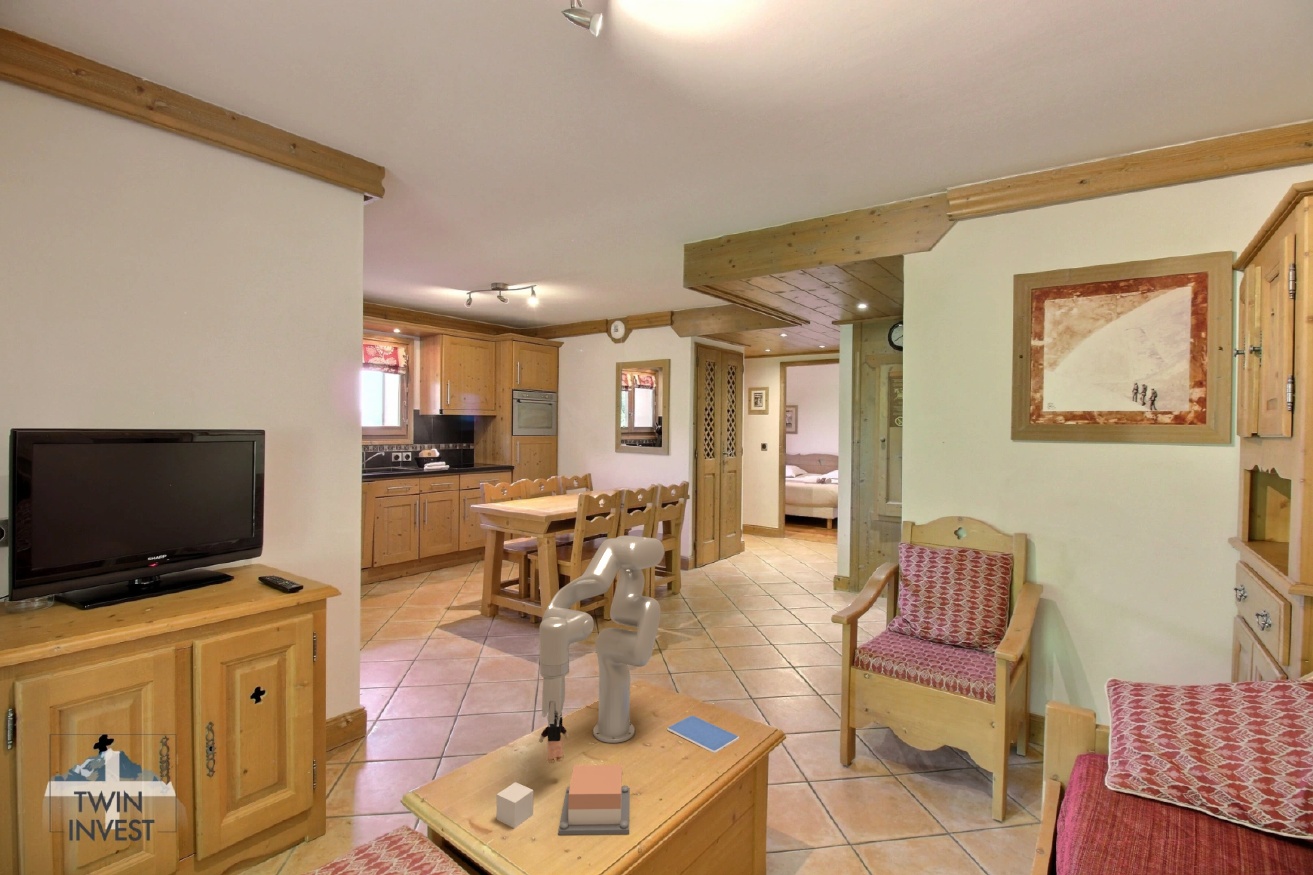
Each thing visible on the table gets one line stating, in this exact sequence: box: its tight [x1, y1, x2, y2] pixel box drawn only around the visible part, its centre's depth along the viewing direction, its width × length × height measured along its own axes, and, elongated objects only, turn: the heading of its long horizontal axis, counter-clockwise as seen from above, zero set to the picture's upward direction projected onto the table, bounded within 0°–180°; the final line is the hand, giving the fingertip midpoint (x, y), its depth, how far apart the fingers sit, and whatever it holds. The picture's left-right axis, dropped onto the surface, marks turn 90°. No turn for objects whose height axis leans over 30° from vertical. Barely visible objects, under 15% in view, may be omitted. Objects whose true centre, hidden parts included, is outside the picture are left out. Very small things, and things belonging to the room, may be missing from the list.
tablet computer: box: [666, 715, 740, 754], centre depth 181 cm, size 19×13×1 cm, turn 46°
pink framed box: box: [557, 764, 631, 836], centre depth 142 cm, size 16×16×8 cm
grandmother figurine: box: [538, 712, 570, 765], centre depth 155 cm, size 8×4×13 cm, turn 123°
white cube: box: [496, 781, 534, 829], centre depth 140 cm, size 6×6×6 cm
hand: (555, 735), depth 155 cm, fingers closed on grandmother figurine, 3 cm apart
